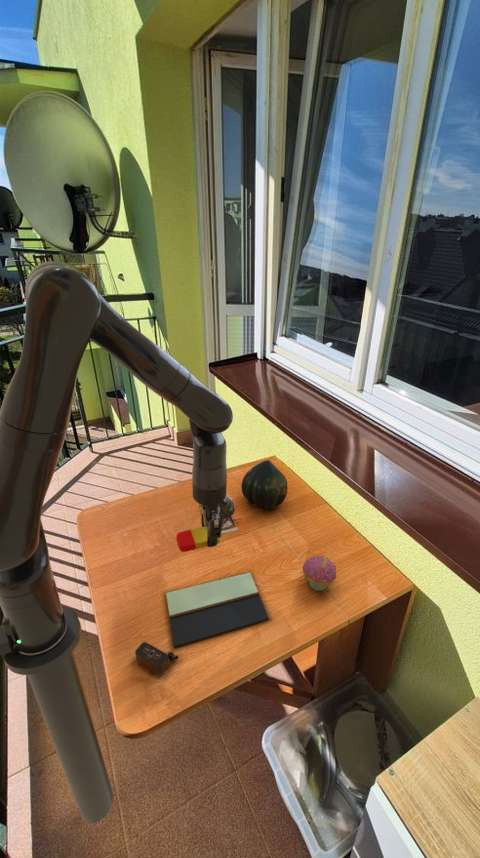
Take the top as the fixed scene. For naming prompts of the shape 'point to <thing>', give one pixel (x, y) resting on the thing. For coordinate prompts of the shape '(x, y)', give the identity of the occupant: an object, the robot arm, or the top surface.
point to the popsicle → (196, 538)
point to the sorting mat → (214, 608)
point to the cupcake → (319, 572)
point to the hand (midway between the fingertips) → (209, 536)
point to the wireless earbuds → (153, 658)
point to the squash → (264, 485)
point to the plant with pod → (227, 512)
